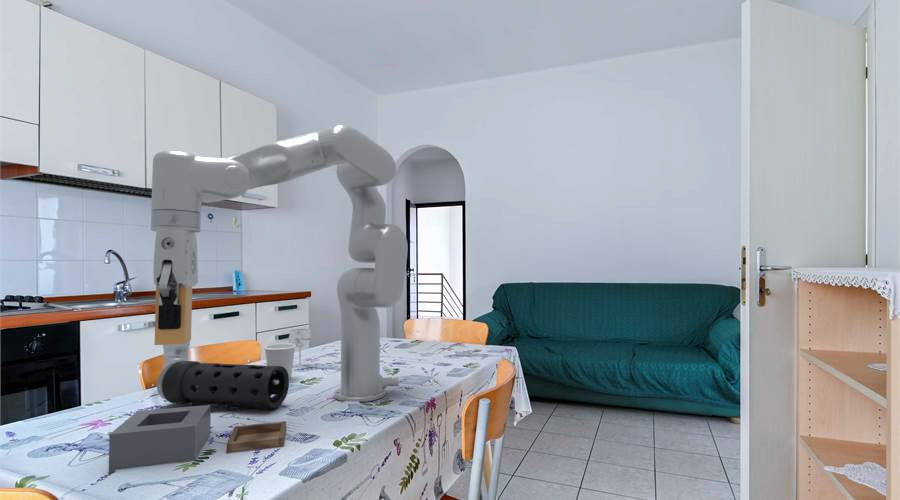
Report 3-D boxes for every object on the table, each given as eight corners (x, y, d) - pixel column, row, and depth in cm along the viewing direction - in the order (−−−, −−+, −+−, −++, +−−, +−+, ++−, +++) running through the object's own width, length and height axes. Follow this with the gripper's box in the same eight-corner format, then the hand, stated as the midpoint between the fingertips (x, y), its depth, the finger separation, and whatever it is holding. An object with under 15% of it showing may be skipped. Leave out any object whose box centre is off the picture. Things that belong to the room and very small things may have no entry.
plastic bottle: (168, 389, 119) (169, 313, 120) (195, 388, 120) (196, 312, 121) (154, 396, 113) (155, 315, 114) (183, 395, 114) (184, 315, 114)
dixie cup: (284, 376, 133) (284, 342, 133) (301, 380, 128) (302, 345, 128) (257, 382, 126) (257, 346, 126) (275, 387, 121) (275, 349, 121)
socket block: (210, 436, 86) (210, 404, 86) (194, 463, 74) (195, 425, 74) (136, 444, 82) (137, 411, 82) (108, 473, 71) (109, 434, 71)
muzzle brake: (265, 419, 96) (265, 369, 96) (153, 411, 102) (154, 365, 102) (290, 405, 105) (290, 360, 106) (185, 399, 111) (186, 356, 111)
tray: (286, 431, 88) (286, 421, 88) (283, 449, 80) (283, 437, 80) (234, 437, 86) (234, 426, 86) (226, 456, 77) (226, 444, 77)
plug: (191, 340, 82) (192, 273, 82) (184, 343, 78) (186, 273, 78) (162, 341, 81) (164, 273, 81) (154, 345, 76) (156, 273, 77)
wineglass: (284, 370, 141) (284, 331, 141) (295, 365, 147) (295, 328, 148) (304, 371, 140) (305, 331, 140) (314, 366, 146) (315, 328, 147)
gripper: (188, 218, 73) (185, 332, 72) (209, 227, 89) (207, 321, 88) (134, 216, 71) (131, 334, 70) (165, 226, 87) (163, 322, 86)
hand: (173, 326), depth 79 cm, fingers closed on plug, 4 cm apart
